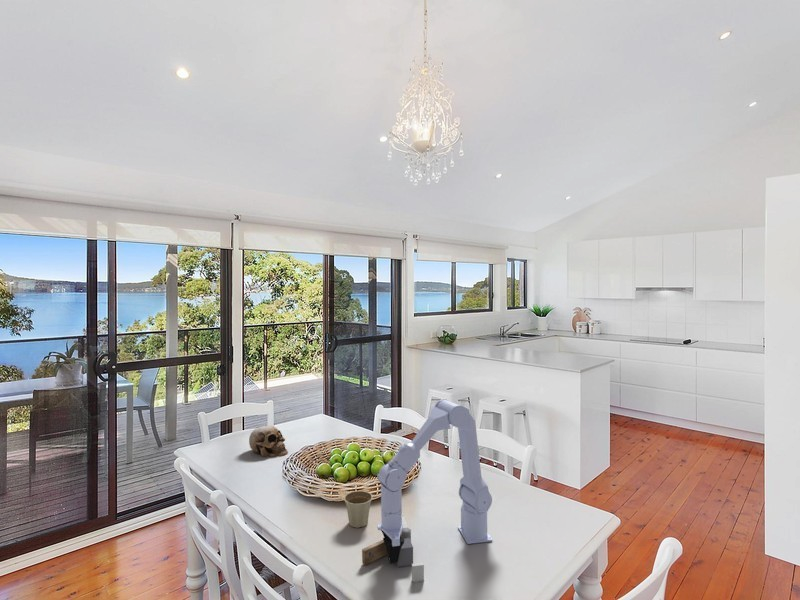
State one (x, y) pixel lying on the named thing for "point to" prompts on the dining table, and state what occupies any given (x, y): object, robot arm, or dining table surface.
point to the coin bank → (267, 441)
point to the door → (374, 552)
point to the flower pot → (358, 507)
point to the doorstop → (406, 554)
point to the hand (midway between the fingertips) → (392, 557)
